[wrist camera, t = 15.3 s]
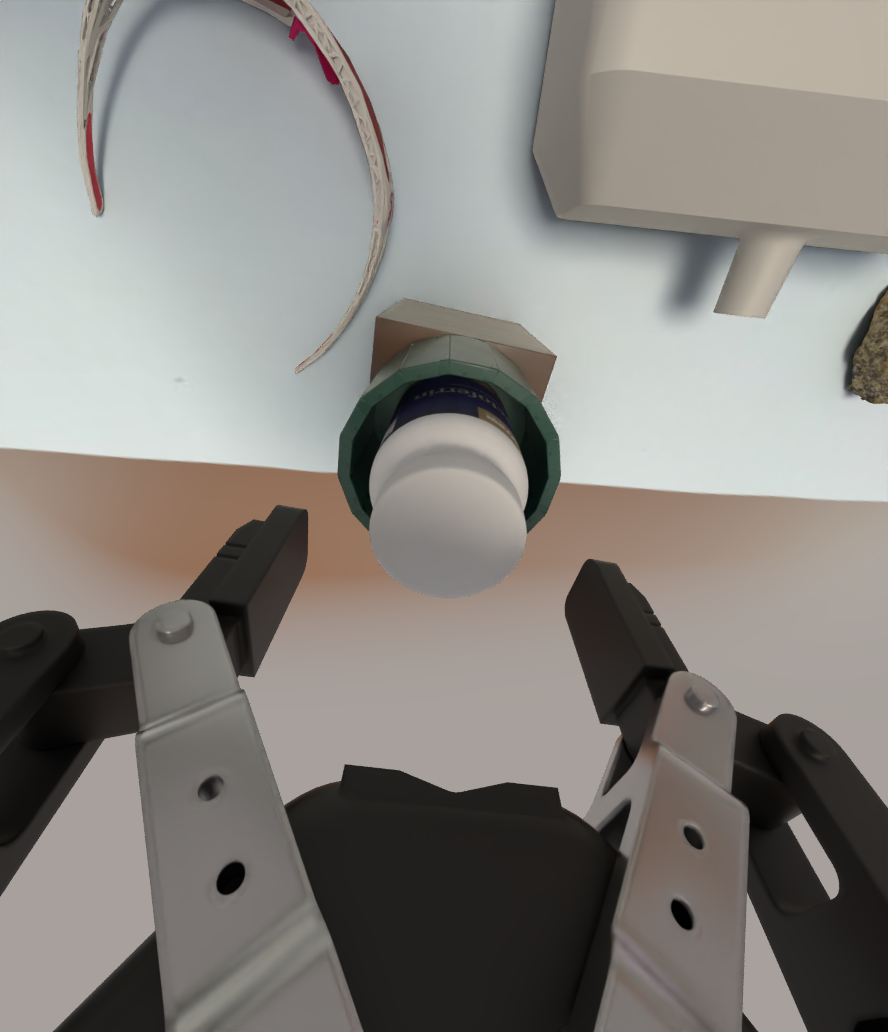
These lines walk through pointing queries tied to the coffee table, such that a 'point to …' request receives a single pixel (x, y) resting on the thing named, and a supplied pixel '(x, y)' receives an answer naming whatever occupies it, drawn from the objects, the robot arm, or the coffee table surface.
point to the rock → (873, 359)
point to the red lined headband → (295, 11)
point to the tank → (722, 126)
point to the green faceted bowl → (461, 361)
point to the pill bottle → (449, 490)
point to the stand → (428, 320)
